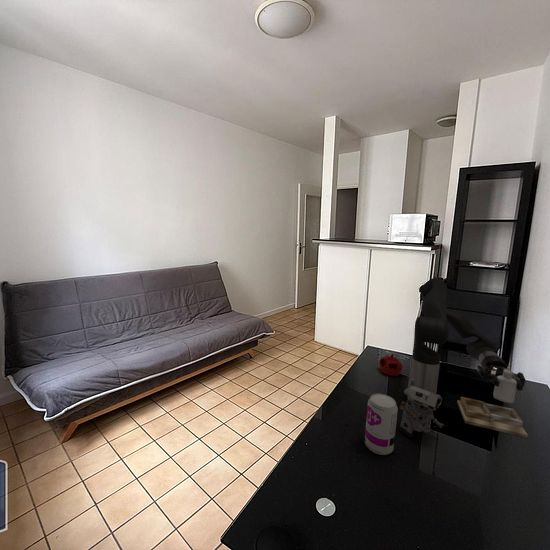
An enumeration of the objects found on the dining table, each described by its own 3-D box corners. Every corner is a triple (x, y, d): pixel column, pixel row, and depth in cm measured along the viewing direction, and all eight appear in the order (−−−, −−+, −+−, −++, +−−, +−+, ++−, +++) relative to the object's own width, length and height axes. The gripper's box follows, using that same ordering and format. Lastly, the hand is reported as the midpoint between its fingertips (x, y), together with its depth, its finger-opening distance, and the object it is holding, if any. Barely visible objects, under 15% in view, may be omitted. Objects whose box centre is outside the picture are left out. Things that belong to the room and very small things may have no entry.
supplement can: (375, 459, 81) (379, 410, 79) (359, 438, 89) (362, 394, 86) (399, 454, 83) (404, 406, 81) (381, 434, 91) (386, 390, 89)
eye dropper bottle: (509, 405, 96) (515, 372, 94) (490, 397, 101) (495, 365, 99) (516, 402, 98) (521, 369, 96) (497, 393, 103) (502, 362, 101)
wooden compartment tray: (465, 423, 98) (466, 415, 97) (457, 402, 110) (458, 395, 109) (527, 437, 91) (528, 429, 91) (511, 414, 103) (512, 406, 103)
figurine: (426, 451, 85) (432, 404, 82) (395, 427, 95) (399, 385, 92) (446, 441, 89) (452, 397, 86) (413, 419, 99) (418, 379, 96)
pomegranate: (385, 366, 139) (387, 347, 137) (405, 374, 131) (407, 354, 130) (374, 371, 132) (376, 352, 131) (395, 380, 125) (397, 360, 123)
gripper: (472, 351, 113) (485, 371, 98) (517, 358, 108) (538, 380, 93) (469, 369, 115) (482, 391, 99) (513, 377, 109) (534, 401, 94)
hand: (509, 385), depth 96 cm, fingers closed on eye dropper bottle, 5 cm apart
